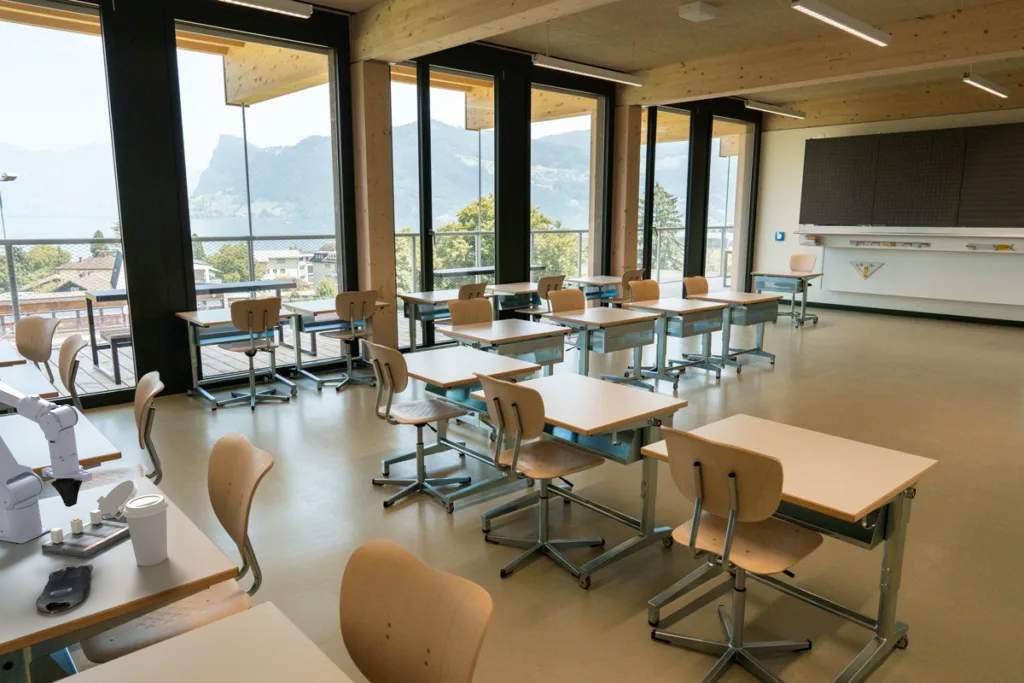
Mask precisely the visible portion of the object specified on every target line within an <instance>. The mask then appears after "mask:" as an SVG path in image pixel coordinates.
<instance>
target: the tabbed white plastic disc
mask: <svg viewBox="0 0 1024 683" xmlns="http://www.w3.org/2000/svg"><path fill="white" fill-rule="evenodd" d="M138 490H139V486H138V485H137V483H135V482H133V480H128V479H127V480H125V481H123V482H121V483H118V485H116V486H115V487H114V488H113V489H111V490H110V492H108V493H107V495H105V497H104V495H101V496H100V497H99V498H97V500H96V502H97V503H98V507H97V510H101V515H102V519H104V520H108V519H111V518H116V519H117V520H120V519H121V518H122V517H124V516H123V510H124V508H125V507H126V503H127V502H128V501H130V500H132V499H134V498H136V496H137V493H138Z"/></svg>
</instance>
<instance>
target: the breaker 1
mask: <svg viewBox="0 0 1024 683" xmlns="http://www.w3.org/2000/svg"><path fill="white" fill-rule="evenodd" d="M49 533H50V540H51V541H52V542H53V543H60V542H62V541H64V539H63V534H64V533H63V528H61V527H53V528H51V530H50V531H49Z"/></svg>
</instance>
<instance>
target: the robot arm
mask: <svg viewBox="0 0 1024 683" xmlns="http://www.w3.org/2000/svg"><path fill="white" fill-rule="evenodd" d="M0 403H3V404H5V405H8V406H10V407H13V408H15V409H16V411H17V414H18V415H19V416H21V417H23V418H25V419H28V420H30V421H32V422H34V423H36V424H38V426H39V428H40V430H42V432H43V433H44V438H45V440H46V441H47V442H48V450H49V457H50V464H51V466H48V467H45V468H42V469H41V475H42V477H43V478H47V477H52V478H54V479H55V480H53V481H51V483H50V484H51V486H52V487H53V488H54V489H55V490H56V492H57V493H59V496H60V497H61V499H62V502H63V504H64V506H65V507H66V508H67V507H68V508H70V507H73V506H76V505H77V504H78V498H79V497H78V496H79V491H80V488H81V486H82V484H83V483H87V482H90V481H92V480H93V475H92V472H91V471H87V470H85V469H84V466H83V465H80V462H79V457H78V456H79V455H78V447H77V441H76V432H75V426H76V425H77V424H78V422H79V415H78V414H79V413H78V412H77V410H76V409H75V408H74V407H72V406H71V405H70V404H64V405H63V404H62V405H57V404H56V403H54V402H51V401H48V400H46V399H45V398H43V397H41V395H39V394H36V393H35V394H28V395H25V394H24V393H22V392H20V391H18V390H16V389H14V388H12V387H11V386H9V385H7V384H6V383H4V382H2V380H1V378H0ZM43 478H41V476H40V475H38V474H37V473H36V472H34V470H33V469H32V467H31V466H27V465H24V464H23V465H22V464H20V463H18V461H17V459H16V458H15V456H14V455H13V453H12V451H11V450H10V448H9V447H8V444H6V442H5V440H4V439H3V437H2V436H1V435H0V541H4V542H10V543H17V544H24V543H26V542H28V541H30V540H34V539H35V538H38V537H40V536H42V535H44V534H46V533H49V532H50V530H52V528H49V527H43V525H42V524H43V523H42V519H41V517H42V516H41V513H40V505H39V499H41V494H42V493H43V492H44V488H45V484H44V481H43Z"/></svg>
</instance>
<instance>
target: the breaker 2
mask: <svg viewBox="0 0 1024 683" xmlns="http://www.w3.org/2000/svg"><path fill="white" fill-rule="evenodd" d="M89 516H90V521H91V523H92V524H99V523H101V522H102V520H103V517H102V515H101V510H98V509H93V510H91V511H89Z"/></svg>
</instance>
